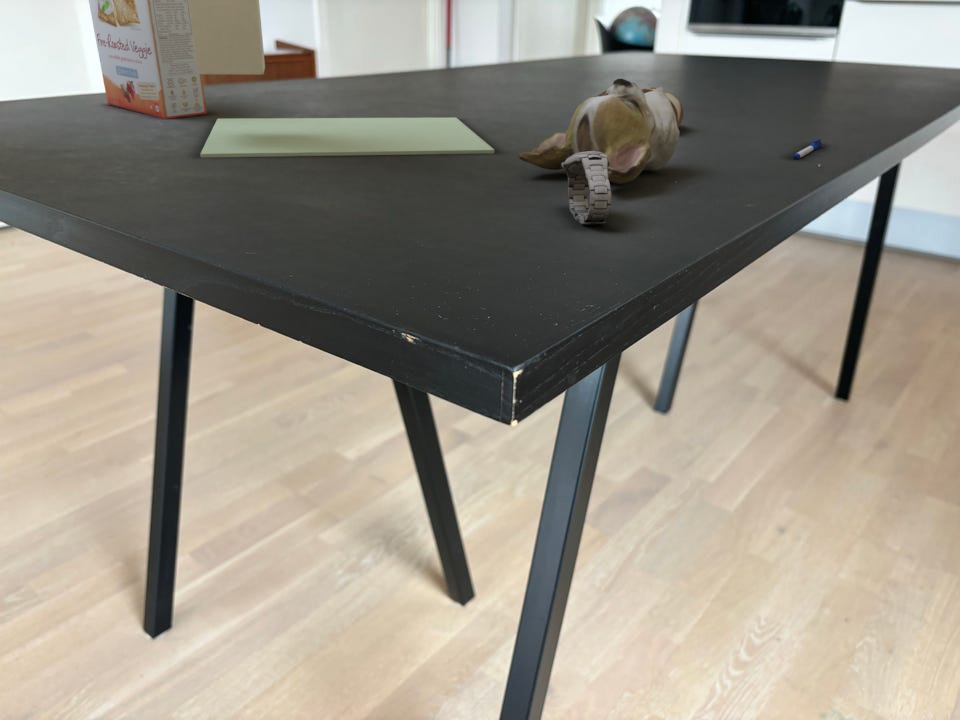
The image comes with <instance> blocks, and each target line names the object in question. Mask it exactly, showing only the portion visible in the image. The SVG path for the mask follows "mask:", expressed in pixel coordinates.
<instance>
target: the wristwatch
mask: <svg viewBox="0 0 960 720" xmlns="http://www.w3.org/2000/svg"><path fill="white" fill-rule="evenodd" d="M609 165H610V160H609V158H608V156H607V155H606V154H604V153H602V152H597V151H587V152H580V153H577V154H574V155H572V156H570V157H569V158H567V159H566V161H565V162H562V168H563V169H562V170H564V171H565V174H566V176H567V185H568V186H567V193H568V195H567V196H568V210H569V212H570V213H571V214H572V216H573V219H574V220H575V221H576V222H578V223H579V224H580V225H583V226H587V225H588V226H593V225H598V226H599V225H604V224H605V223H606V220H607V219H608V216H609V214H610V211H611V206H612V188H611V184H610V181H609V180H608V170H607V168H608V167H609ZM588 198H589V199H588Z"/></svg>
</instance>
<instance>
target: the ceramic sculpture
mask: <svg viewBox="0 0 960 720" xmlns="http://www.w3.org/2000/svg"><path fill="white" fill-rule="evenodd" d="M656 88H657V89H655V90H653V91H651V92H647V93H643V91H642V90H641V89H642V88H641V87H640V86H639V85H638V84H636V83H635V82H631V81H630V80H627V79H625V78H616V79H615V80H613V82H612V84H611V85H610V86H609V87H608V88H607V92H606V94H605V95H601V96H598V95H594V96H591V97H589V98H586V99H585V100H584V101H582V102H581V103H580V104H579V105H578V106H577V108H576V109H575V111H574V113H573V115H572V117H571V119H570V123H569V126H568V128H567V129H566V131H562V132H559V131H558V132H555V133H553V135H551V136H550V137H548V138H545V139H543V140H542V141H541V142H540V143H539V144H538V147H535V148H534V149H532V151H529V152H527V151H524V152H521V153H519V154H518V155H517V156H518V158H519V160H521V161H523V162H525V163H528V164H531V165H532V166H535V167H539V168H540V169H545V170H551V171H559V170H564V169H563V168H562V162H565V161H566V159H567V158H569V157H570V156H572V155H574V154H577V153H580V152H587V151H597V152H602V153H604V154H606V155H607V156H608V158H609V160H610V165H609V167H608V168H607V170H608V180H609V182H611V183H614V184H617V185H618V184H627V183H630V182H632V181H634V180H635V179H637V177H638V176H640V174H641V173H642V171H643V172H644V171H658V170H660V169H662V168H663V167H665V166H666V165H668V163H669V162H670V161H671V158H673V155H674V153H675V152H676V149H677V145H678V143H679V139H680V134H681V132H680V130H679V127H677V121H676V116H675V113H674V110H673V108H672V105H671V102H670V101H669V99H668V98H667V96H666V92H667V91H666V90H665V88H664V87H663V86H659V87H656Z"/></svg>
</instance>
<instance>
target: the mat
mask: <svg viewBox="0 0 960 720" xmlns="http://www.w3.org/2000/svg"><path fill="white" fill-rule="evenodd" d="M464 154H465V155H469V154H470V155H471V154H473V155H475V154H495V149H494V148H493V147H492V146H491V145H490V144H488V143H487V142H486V141H485V140H484V139H482V137H480V136H478V134H477V133H475V132H474V131H473V130H471V128H469V127H468V126H467V125H466V124H465V123H463V122H462V121H461V120H460V119H458V117H271V118H269V117H268V118H266V117H264V118H263V117H261V118H259V117H257V118H256V117H254V118H248V117H246V118H245V117H244V118H241V117H240V118H237V117H236V118H217V119H216V121H215V123H214V125H213V127H212V129H211V131H210V133H209V135H208V137H207V139H206V141H205V143H204V145H203V148H202V150H201V151H200V153H199V155H200V159H202V158H259V157H260V158H261V157H263V158H267V157H334V156H337V157H339V156H340V157H341V156H342V157H343V156H400V155H402V156H406V155H407V156H408V155H411V156H412V155H464Z"/></svg>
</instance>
